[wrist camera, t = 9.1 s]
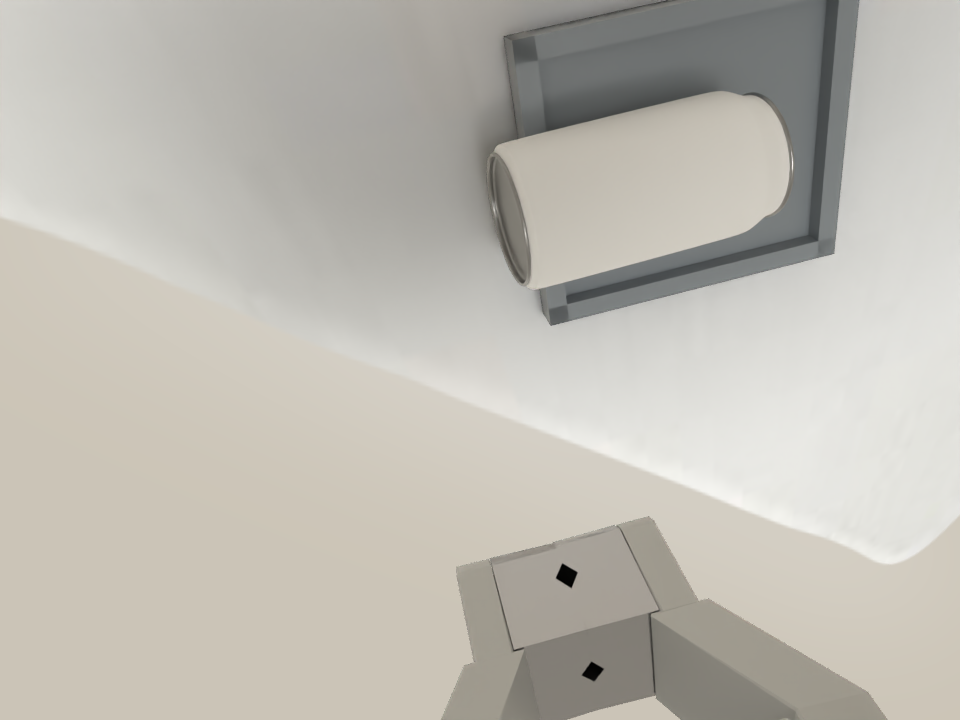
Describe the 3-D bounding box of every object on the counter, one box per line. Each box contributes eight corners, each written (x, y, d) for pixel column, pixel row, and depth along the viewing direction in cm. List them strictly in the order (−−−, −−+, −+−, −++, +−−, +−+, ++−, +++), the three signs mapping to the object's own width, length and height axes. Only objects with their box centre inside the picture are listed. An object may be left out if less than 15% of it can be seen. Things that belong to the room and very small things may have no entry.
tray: (841, -38, 33) (863, -37, 32) (817, 243, 40) (834, 253, 39) (503, 36, 32) (511, 40, 30) (543, 313, 39) (550, 325, 38)
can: (517, 306, 34) (748, 243, 36) (539, 272, 28) (819, 196, 29) (479, 180, 35) (707, 123, 36) (492, 118, 29) (768, 52, 30)
